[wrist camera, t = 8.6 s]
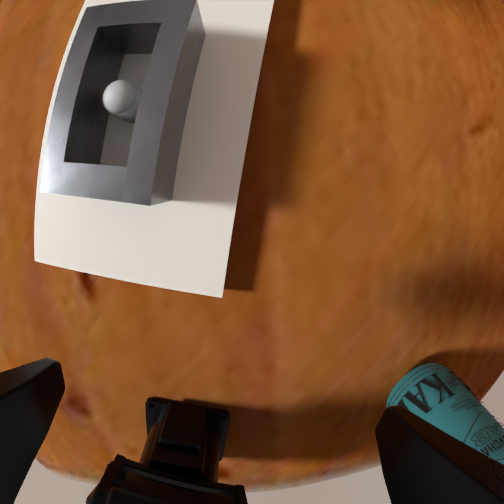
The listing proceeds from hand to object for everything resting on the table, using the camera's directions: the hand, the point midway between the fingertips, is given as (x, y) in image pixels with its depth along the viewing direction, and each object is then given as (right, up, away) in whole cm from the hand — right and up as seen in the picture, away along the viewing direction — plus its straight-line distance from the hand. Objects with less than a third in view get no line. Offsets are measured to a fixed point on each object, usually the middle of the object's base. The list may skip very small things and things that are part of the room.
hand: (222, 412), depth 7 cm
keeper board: (-6, +12, +9) cm, 16 cm away
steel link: (-6, +12, +8) cm, 16 cm away
